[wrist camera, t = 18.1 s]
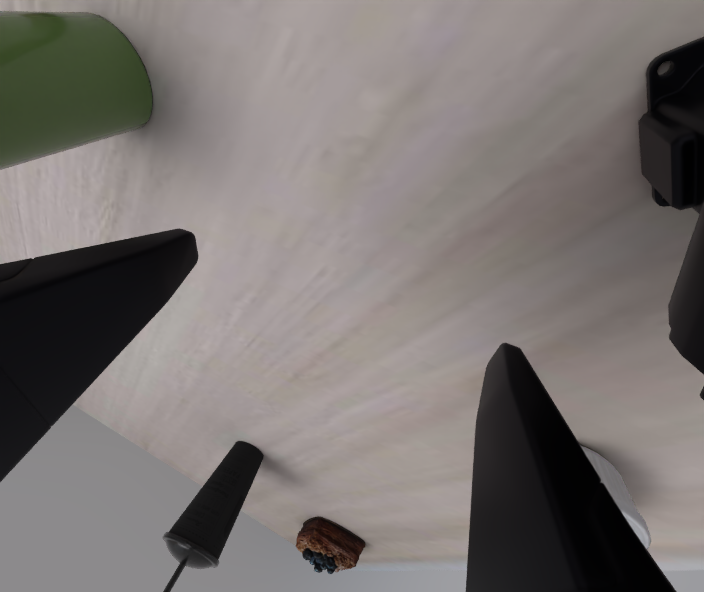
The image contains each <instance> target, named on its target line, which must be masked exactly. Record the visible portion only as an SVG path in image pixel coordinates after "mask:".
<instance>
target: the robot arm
mask: <svg viewBox="0 0 704 592" xmlns="http://www.w3.org/2000/svg"><path fill="white" fill-rule="evenodd" d="M666 61H669V62H670V64H671V65H670V68H669V70H668V71H667V72H666V73H664V74H662V75H658V73H657V70H658V67H659V66H660V65H661V64H662V63H664V62H666ZM646 79H647V99H648V113H646V114H644V115H643V116H642V117H641V119H640V120H639V138H640V153H641V169H642V175H643V176H644V177H645V178H646V179H647V180H648V181H649V182H650V183H651V184H652V196H653V199H654V201H655V202H656V203H657V204H658V205H659V206H664V207H665V206H672V207H674V208H676V209H678V210H684V209H688V208H693V209H694V210H695V211H696V212H697V213H698V214H699V217H698V220H697V223H696V226H695V229H694V232H693V235H692V238H691V240H690V243H689V246H688V249H687V252H686V255H685V258H684V261H683V264H682V267H681V270H680V273H679V276H678V279H677V282H676V285H675V287H674V290H673V293H672V296H671V299H670V302H669V305H668V308H669V325H670V327H671V331H670V334H669V339H670V340H671V342H672V343H673V345H674V346H675V347H676V349H677V350H678V351H679V353H680V354H681V355H682V356H683V357H684V358H685V359H686V360H688V361H689V362H690V363H691V364H692V365H693V366H694V367H696V368H697V369H698V370H699V371H700V372H701V373H703V374H704V37H702V38H699V39H697V40H695V41H692V42H690V43H687V44H685V45H682V46H680V47H678V48H675V49H673V50H670V51H668V52H665V53H663V54H661V55H659V56H657V57H656V58H655V59H654V60H653V61H652V62H651V63H650V64H649V66H648V68H647V72H646ZM662 197H663V198H662ZM197 261H198V251H197V245H196V239H195V236H194V234H193V233H192V232H189V231H186V230H183V229H174V230H169V231H164V232H159V233H154V234H149V235H144V236H139V237H134V238H129V239H124V240H119V241H115V242H110V243H105V244H100V245H95V246H90V247H85V248H80V249H75V250H70V251H65V252H60V253H55V254H50V255H45V256H40V257H35V258H34V259H32V258H30V259H25V260H20V261H15V262H10V263H5V264H0V482H1V481H2V480H3V479H4V477H5V476H6V475H7V474H8V473H9V472H10V471H11V470H12V469H13V468H14V467H15V466H16V464H17V463H18V462H19V461H20V460H21V459H22V458H23V457H24V456H25V455H26V454H27V453H28V452H29V451H30V450H31V449H32V447H33V446H34V445H35V444H36V443H37V442H38V441H39V440H40V439H41V438H42V437H43V436H44V435H45V433H46V432H47V431H48V430H49V429H50V428H51V426H52V425H54V423H55V422H56V421H57V420H58V419H59V418H60V417H61V416H62V415H63V414H64V413H65V412H66V411H67V410H68V408H69V407H70V406H71V405H72V404H73V403H74V402H75V401H76V400H77V399H78V398H79V397H80V396H81V394H82V393H83V392H84V391H85V390H86V389H87V388H88V387H89V386H90V385H91V384H92V383H93V382H94V380H95V379H96V378H97V377H98V376H99V375H100V374H101V373H102V372H103V371H104V370H105V369H106V368H107V367H108V365H109V364H110V363H111V362H112V361H113V360H114V359H115V358H116V357H117V356H118V355H119V354H120V353H121V351H122V350H123V349H124V348H125V347H126V346H127V345H128V344H129V343H130V342H131V341H132V340H133V339H134V338H135V336H136V335H137V334H138V333H139V332H140V331H141V330H142V329H143V328H144V327H145V326H146V325H147V324H148V322H149V321H150V320H151V319H152V318H153V317H154V316H155V315H156V314H157V313H158V312H159V311H160V310H161V308H162V307H163V306H164V305H165V304H166V303H167V302H168V301H169V299H170V298H171V297H172V295H173V294H174V293H175V291H176V290H177V289H178V287H179V286H180V285H181V283H182V282H183V281H184V279H185V278H186V277H187V275H188V274H189V273H190V271H191V270H192V269H193V267H194V266H195V265H196V263H197ZM700 397H701V398H702V399H703V400H704V387H703V389H702V391H701V393H700ZM600 482H601V478H600V477H599V475H598V473H597V472H596V470H595V469H594V467H593V465H592V464H591V462H590V461H589V459H588V457H587V456H586V454H585V452H584V451H583V449H582V448H581V446H580V444H579V443H578V441H577V439H576V438H575V436H574V435H573V433H572V431H571V430H570V428H569V426H568V425H567V423H566V422H565V420H564V418H563V417H562V415H561V413H560V412H559V410H558V409H557V407H556V405H555V404H554V402H553V400H552V399H551V397H550V396H549V394H548V392H547V391H546V389H545V388H544V386H543V384H542V383H541V381H540V379H539V378H538V376H537V375H536V373H535V371H534V370H533V368H532V366H531V365H530V363H529V362H528V360H527V358H526V357H525V355H524V353H523V352H522V350H521V349H520V348H519V347H516V346H514V345H511V344H508V343H502V344H501V345H500V346H499V348H498V349H497V351H496V352H495V354H494V355H493V356H492V358H491V359H490V361H489V363H488V365H487V367H486V371H485V377H484V382H483V387H482V392H481V398H480V403H479V408H478V414H477V420H476V429H475V446H474V463H473V480H472V496H471V513H470V530H469V547H468V564H467V581H466V592H676V590H675V589H674V588H673V586H672V585H671V583H670V582H669V581H668V579H667V578H666V576H665V575H664V574H663V572H662V571H661V569H660V568H659V567H658V565H657V564H656V562H655V561H654V559H653V558H652V557H651V555H650V554H649V552H648V551H647V549H646V548H645V546H644V545H643V543H642V542H641V541H640V539H639V538H638V536H637V535H636V533H635V532H634V530H633V529H632V527H631V526H630V524H629V523H628V521H627V520H626V518H625V516H624V515H623V513H622V512H621V510H620V509H619V507H618V506H617V504H616V502H615V501H614V499H613V498H612V496H611V494H610V493H609V491H608V489H607V488H606V486H605V485H604V483H600Z"/></svg>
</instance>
